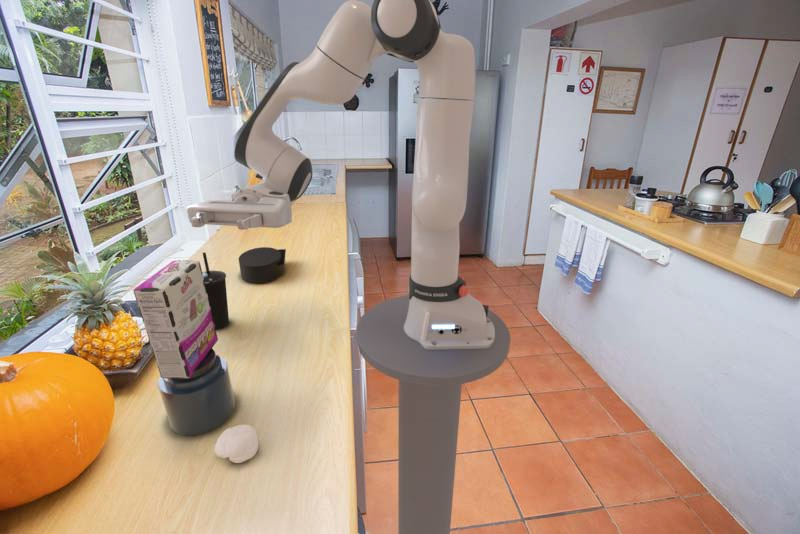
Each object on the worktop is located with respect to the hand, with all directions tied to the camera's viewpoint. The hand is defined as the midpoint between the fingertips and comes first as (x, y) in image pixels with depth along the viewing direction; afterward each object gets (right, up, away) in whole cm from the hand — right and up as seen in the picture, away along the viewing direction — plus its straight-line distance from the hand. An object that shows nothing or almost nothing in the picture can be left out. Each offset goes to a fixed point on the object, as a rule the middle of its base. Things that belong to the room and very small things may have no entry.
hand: (217, 224), depth 73 cm
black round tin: (-12, -10, +58) cm, 60 cm away
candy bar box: (-2, -24, -5) cm, 25 cm away
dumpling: (+8, -39, -9) cm, 41 cm away
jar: (-2, -35, -1) cm, 35 cm away
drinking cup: (-13, -23, +28) cm, 38 cm away
